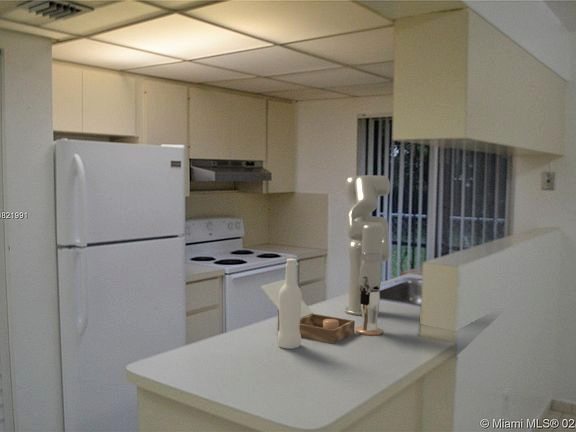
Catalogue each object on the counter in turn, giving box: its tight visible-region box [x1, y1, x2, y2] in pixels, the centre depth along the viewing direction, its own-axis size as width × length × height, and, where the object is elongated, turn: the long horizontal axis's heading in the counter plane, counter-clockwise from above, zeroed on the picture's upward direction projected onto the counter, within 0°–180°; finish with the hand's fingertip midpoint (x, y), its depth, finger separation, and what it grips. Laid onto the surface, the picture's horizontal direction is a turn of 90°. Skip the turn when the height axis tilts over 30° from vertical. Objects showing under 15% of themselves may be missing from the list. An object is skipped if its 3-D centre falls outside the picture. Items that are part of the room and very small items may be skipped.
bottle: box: [276, 258, 303, 350], centre depth 186 cm, size 8×8×30 cm
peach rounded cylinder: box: [322, 319, 339, 330], centre depth 199 cm, size 6×6×6 cm
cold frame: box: [299, 313, 356, 344], centre depth 203 cm, size 17×18×4 cm
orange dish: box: [355, 325, 383, 337], centre depth 207 cm, size 10×10×1 cm
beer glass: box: [360, 288, 381, 332], centre depth 207 cm, size 7×7×15 cm
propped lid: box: [259, 279, 314, 332], centre depth 211 cm, size 17×14×16 cm
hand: (369, 301), depth 207 cm, fingers open, 9 cm apart
